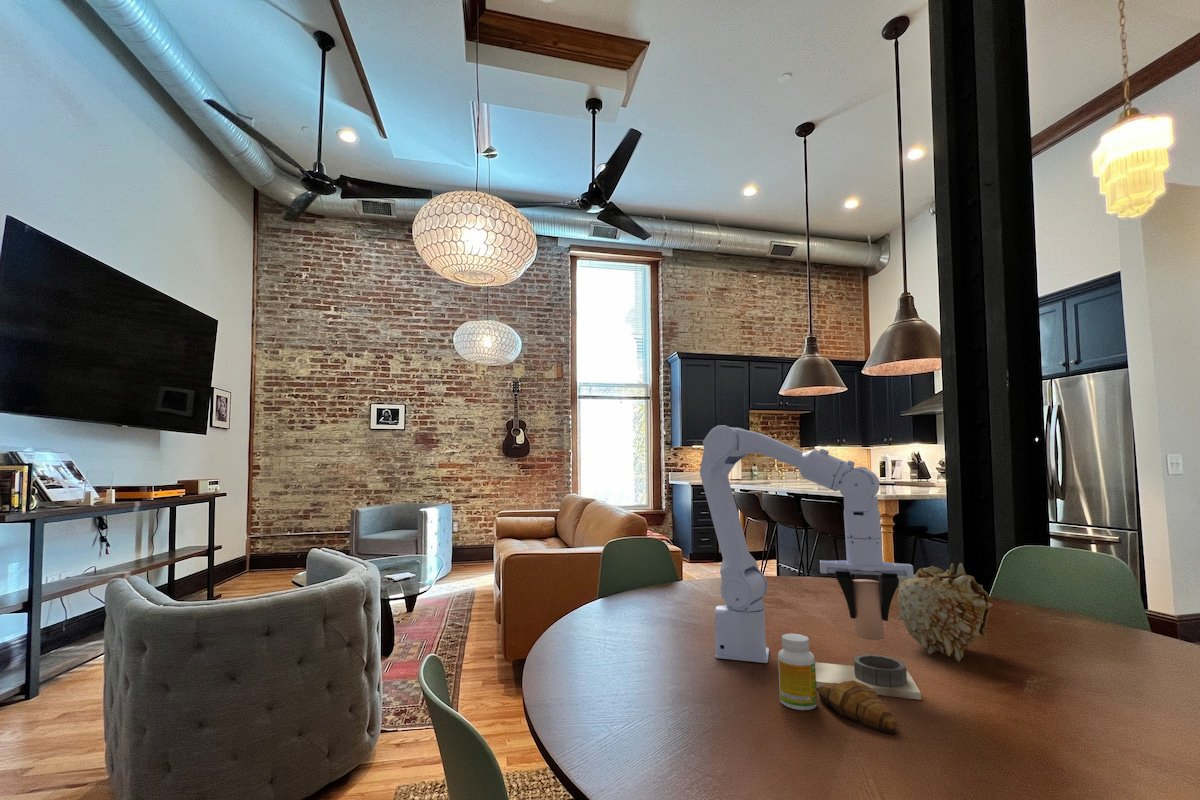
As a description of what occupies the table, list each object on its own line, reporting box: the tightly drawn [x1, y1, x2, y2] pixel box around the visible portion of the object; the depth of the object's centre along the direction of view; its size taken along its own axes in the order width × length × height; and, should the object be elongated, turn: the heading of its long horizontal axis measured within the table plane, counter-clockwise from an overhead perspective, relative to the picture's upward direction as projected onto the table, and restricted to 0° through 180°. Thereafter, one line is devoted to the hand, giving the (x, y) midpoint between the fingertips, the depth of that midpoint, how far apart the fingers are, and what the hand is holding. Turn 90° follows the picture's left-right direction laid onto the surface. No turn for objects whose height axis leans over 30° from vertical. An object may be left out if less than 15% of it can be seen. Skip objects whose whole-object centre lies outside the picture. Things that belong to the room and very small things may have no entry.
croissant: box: [817, 680, 898, 734], centre depth 81 cm, size 14×7×5 cm, turn 21°
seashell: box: [896, 562, 994, 663], centre depth 108 cm, size 18×18×15 cm
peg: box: [852, 578, 885, 641], centre depth 95 cm, size 4×4×9 cm
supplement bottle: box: [777, 633, 818, 711], centre depth 84 cm, size 5×5×10 cm
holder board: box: [815, 654, 922, 701], centre depth 93 cm, size 20×10×4 cm, turn 71°
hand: (868, 618), depth 94 cm, fingers closed on peg, 4 cm apart
